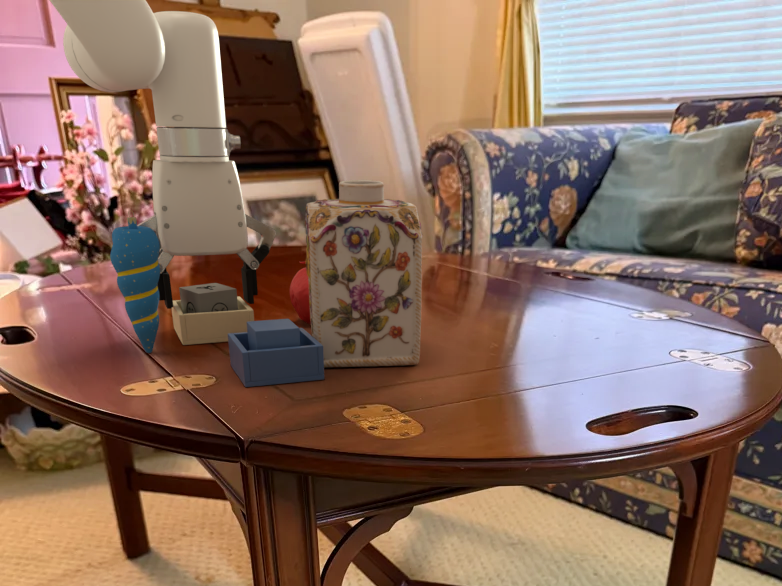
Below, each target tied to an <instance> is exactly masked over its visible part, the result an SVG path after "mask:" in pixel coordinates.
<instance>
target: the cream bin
mask: <svg viewBox="0 0 782 586" xmlns="http://www.w3.org/2000/svg"><path fill="white" fill-rule="evenodd" d="M237 301H238V310H232V311H217V312H202V313H187V314H183V312H182V307H181V299H175V300H173V307H172V309H171V316H172V323H173V329H174V331H175V333H176V335H177V337H178V339H179V340H180V342H181V344H182V346H188V345H189V346H190V345H201V344H215V343H226V342H227V343H228V333H241V332H247V322H249V321H255V312H254V309H253V308H252V307H251V306H250V304H249V303H247V302H246V301H245V300H244V298H242V297H241V296H238V295H237Z"/></svg>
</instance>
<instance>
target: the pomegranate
mask: <svg viewBox="0 0 782 586" xmlns="http://www.w3.org/2000/svg"><path fill="white" fill-rule="evenodd" d="M305 261H306V260H304V261H299V264H301V265H306V262H305ZM289 300H290V302H291V305H292V307H293V309H294V311H295V312H296V314H297V316H298V318H299V320H301V321H303V322H304V323H306V325H311V319H310V304H309V283H308V275H307V270H306V266H305V267H303V268H301V269H299V270H298V271H297V272H296V274H295V275H294V276H293V278H292V280H291V282H290V285H289Z"/></svg>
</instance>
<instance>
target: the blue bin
mask: <svg viewBox="0 0 782 586" xmlns="http://www.w3.org/2000/svg"><path fill="white" fill-rule="evenodd" d="M299 332H300V346H297V347H285V348H273V349H261V350H249V344H248V333H247V332H241V333H228V341H227V344H228V352H229V361H230V362H229V363H230V367H231V368H232V370H233V372H234V373H235V374H236V375H237V377H238V378H239V380H240V382H241V383H242V384H243V386H244V387H245V388H252V387H253V388H254V387H262V386H273V385H282V384H292V383H293V384H294V383H301V382H313V381H322V380H325V368H324V354H323V345H322V344H320V343H319V342H318V341H317V340H316V339H315V338H314V337H312V334H311V333H309V332H308V331H307V330H306V329H304V327H299Z"/></svg>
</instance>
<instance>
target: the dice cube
mask: <svg viewBox="0 0 782 586" xmlns="http://www.w3.org/2000/svg"><path fill="white" fill-rule="evenodd" d="M178 290H179V298H180V299H179V300H181V307H182V312H183V314H187V313H202V312H217V311H232V310H238V301H237V297H238V292H237V288H235V287H231V286H229V285H225V284H221V283H218V282H210V283H203V284H202V283H201V284H195V285H188V286H187V285H186V286H180V287H178Z"/></svg>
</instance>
